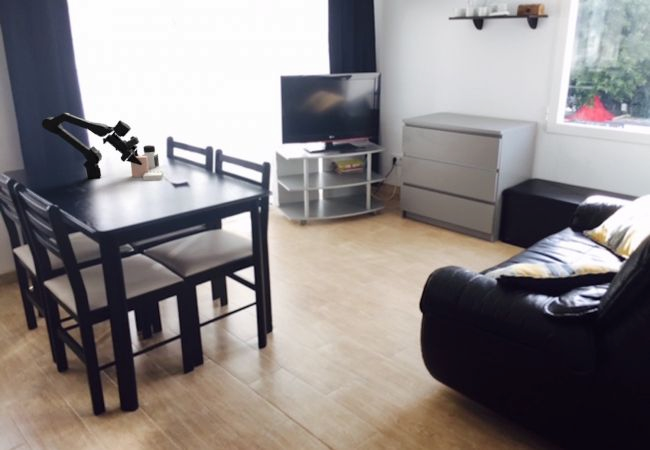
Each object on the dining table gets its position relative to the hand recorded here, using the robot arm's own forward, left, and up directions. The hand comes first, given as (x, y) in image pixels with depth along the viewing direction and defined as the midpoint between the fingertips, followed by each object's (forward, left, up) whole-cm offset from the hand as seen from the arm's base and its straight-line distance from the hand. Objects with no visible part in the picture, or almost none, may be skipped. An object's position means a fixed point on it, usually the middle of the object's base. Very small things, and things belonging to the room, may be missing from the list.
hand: (142, 163), depth 295 cm
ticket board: (+4, -8, -7) cm, 11 cm away
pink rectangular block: (-1, 0, -6) cm, 6 cm away
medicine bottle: (+8, +21, -7) cm, 23 cm away
